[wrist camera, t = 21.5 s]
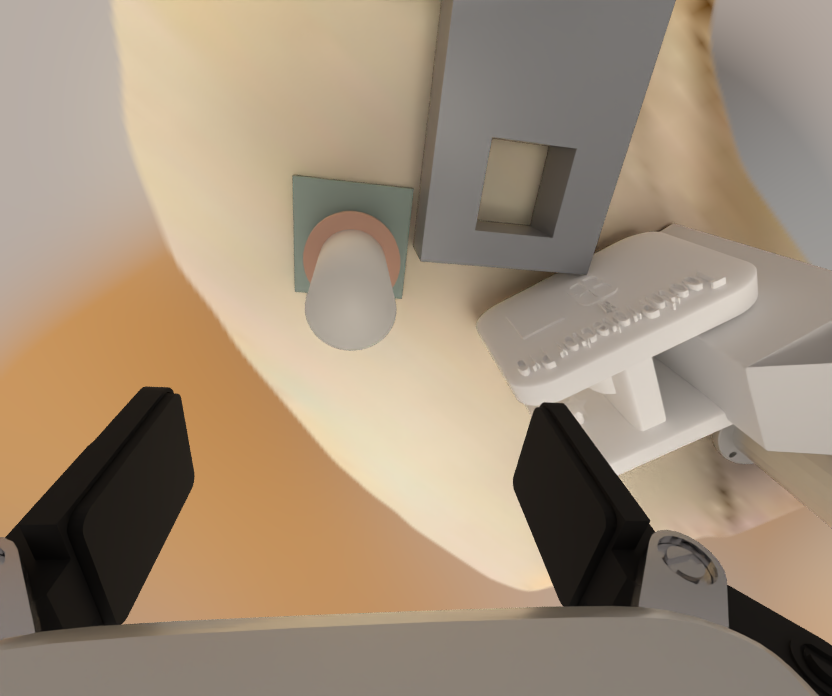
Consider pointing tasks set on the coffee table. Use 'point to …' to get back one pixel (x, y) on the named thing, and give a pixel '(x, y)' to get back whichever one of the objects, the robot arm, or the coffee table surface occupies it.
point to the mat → (336, 196)
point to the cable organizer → (621, 342)
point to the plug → (351, 280)
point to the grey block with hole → (533, 122)
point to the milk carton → (767, 352)
